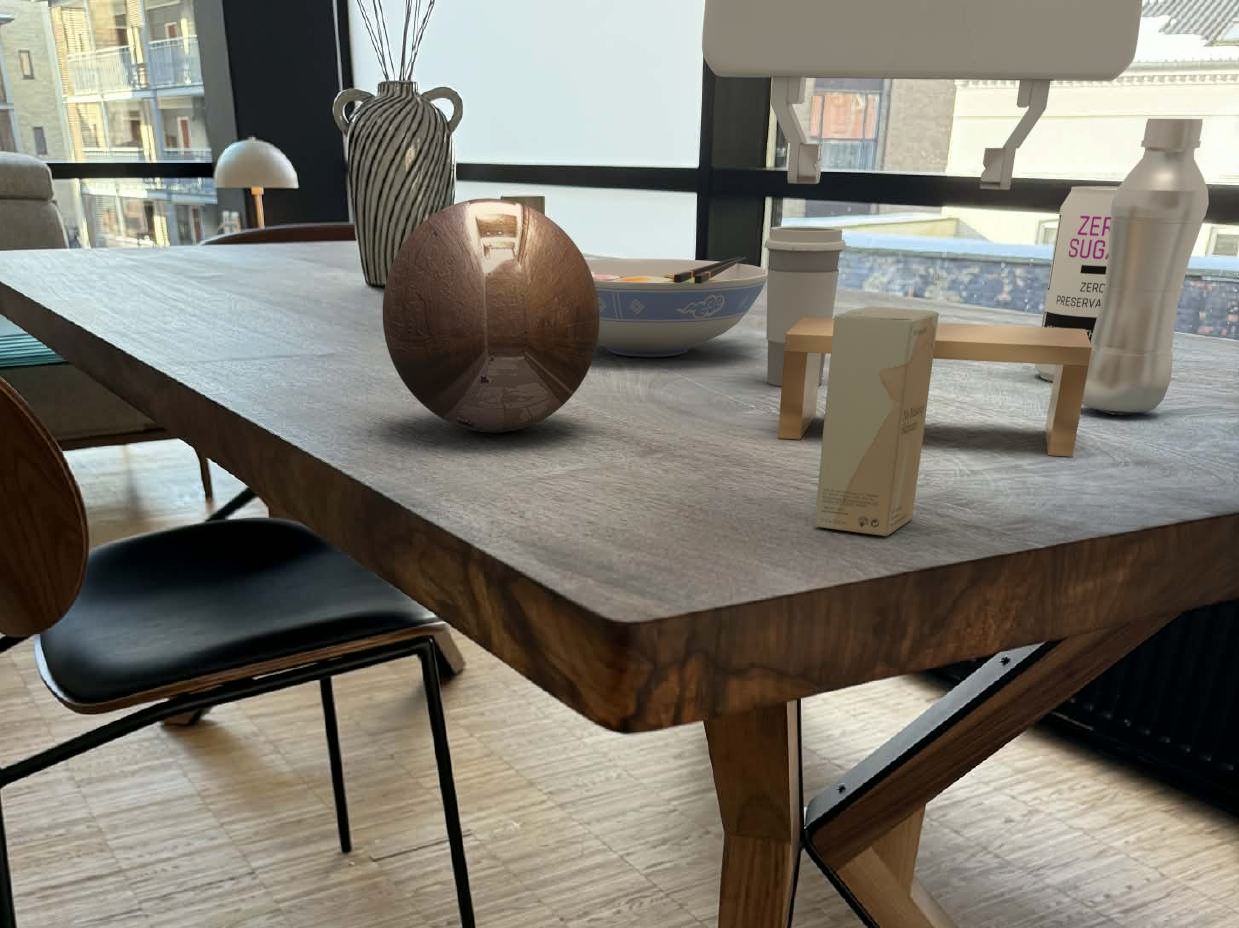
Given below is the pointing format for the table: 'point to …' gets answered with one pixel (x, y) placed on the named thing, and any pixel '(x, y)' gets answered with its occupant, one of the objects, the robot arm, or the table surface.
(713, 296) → the ramen bowl
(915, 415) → the box
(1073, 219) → the supplement can
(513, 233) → the copper ball
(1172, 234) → the plastic bottle
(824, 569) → the table surface
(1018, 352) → the shelf
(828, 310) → the cup
